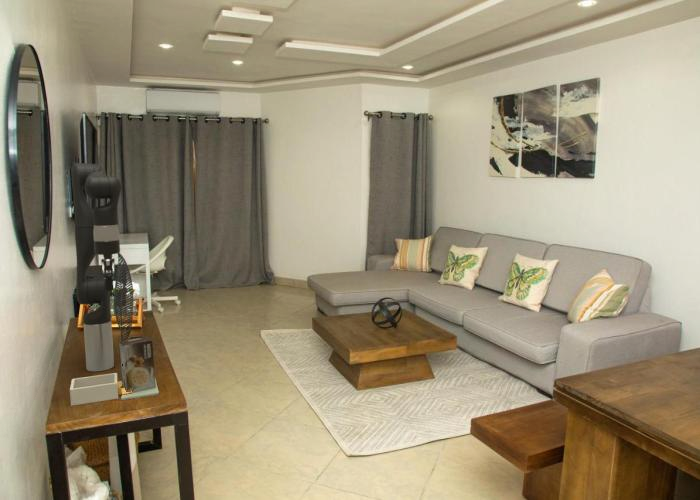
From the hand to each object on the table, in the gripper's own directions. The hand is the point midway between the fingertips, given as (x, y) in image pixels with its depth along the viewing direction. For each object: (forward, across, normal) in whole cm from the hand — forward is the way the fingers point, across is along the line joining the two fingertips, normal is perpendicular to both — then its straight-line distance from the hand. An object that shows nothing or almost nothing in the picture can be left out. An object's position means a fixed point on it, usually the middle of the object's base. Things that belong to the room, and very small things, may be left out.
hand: (109, 288), depth 174 cm
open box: (+33, +7, -6) cm, 34 cm away
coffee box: (+33, +7, +7) cm, 34 cm away
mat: (+33, +7, +7) cm, 34 cm away
